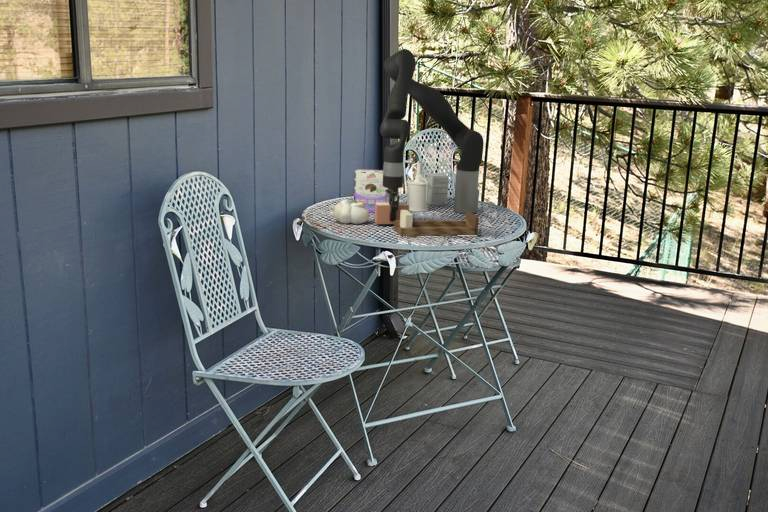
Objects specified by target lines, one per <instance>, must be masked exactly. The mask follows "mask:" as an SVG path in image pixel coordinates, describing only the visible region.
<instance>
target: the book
mask: <svg viewBox="0 0 768 512" xmlns="http://www.w3.org/2000/svg"><path fill="white" fill-rule="evenodd" d="M393 207H395V205H393ZM401 210H408V211H409V205H408V204H407V201H406V202H400V201H399V206H398V211H396V220H400V212H401ZM373 221H374V223H375V224H376V225H394V221H390V205H389V204H388V203H375V213H374V220H373Z"/></svg>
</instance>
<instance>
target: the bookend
mask: <svg viewBox="0 0 768 512" xmlns="http://www.w3.org/2000/svg"><path fill="white" fill-rule="evenodd" d="M410 212H411V211H410ZM410 212H409V211H408V210H401V212H400V227H401V228H412V221H414V220H413V218H414V217H413V216H414V215H413V214H412V213H410Z"/></svg>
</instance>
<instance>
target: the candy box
mask: <svg viewBox="0 0 768 512" xmlns="http://www.w3.org/2000/svg"><path fill="white" fill-rule="evenodd" d="M353 183H354V184H353V186H354V188H353V189H354V190H353V200H361V201H363V203H364V207H365V208H366V209H367V210H368V211H369V213H373V214H375V203H386V192H385V190H388V188H386V187H383V169H380V170H379V169H359V168H358V169H355V170H354V182H353ZM353 203H355V202H353Z"/></svg>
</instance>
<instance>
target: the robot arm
mask: <svg viewBox="0 0 768 512" xmlns="http://www.w3.org/2000/svg"><path fill="white" fill-rule="evenodd" d="M416 61H417V60H416V57H415V55H414V54H413V53H412V52H411V50H409V49H407V48H403V49H400V50H398V51H397V52H395V53H394V54H392V55H391V56H389V57H388V58H387V59H386V60H385V61H384V62H383V68H384V71H385V73H386V74H387V75H388V77H389V78H390V79H391V80H392V81H394V84H393V87H392V89H391V90H390V92H389V96H388V98H387V108H386V113H385V115H384V118H383V120H382V121H381V124H380V126H379V127H380V128H379V129H380V131H379V132H380V135H381V136H382V137H383V138H384V139H387V140H388V139H389V140H390V139H392V140H393V139H394V140H399V141H398V142H397V143H394V144H390V145H386V146H385V147H384V156H383V157H384V158H383V159H384V160H383V161H384V162H383V166H382V167H383V169H382V171H383V187H386V188H388V190H385V192H386V203H388V204H389V205H390V221H394V220H396V211H398V206H399V202H400V198H401V197H400V195H399V192H398V189H401V188H403V187H404V172H405V171H404V169H405V168H404V157H405V156H404V155H405V146H406V142H407V139H408V136H409V134H410V131H411V125H410V123H409V121H408V120H406V119H405V117H406V115H407V109H408V107H407V105H408V97H409V96H410V97H411V99H413V101H415V102H416V104H418V106H419V107H420V108H421V109H422V110H423V111H424V112H425V113H426V114H427V115H428V116H429V117H430V118H431V119H432V120H433V121H434V122H435V123H436V124H437V125H438V126H439V127H440V128H441V129H442V130H444V131H445V132H446V133H447V135H448V136H449V138H450V139H451V140H452V142H453V143H454V144H455V146H456V147H457V149H459V150H460V151H461V152H460V158H459V160H458V161H457V163H456V171H455V182H454V185H455V186H454V196H453V197H454V199H453V201H454V202H453V212H455V213H459V214H466V211H470V212H471V213H473V214H475V213H474V212H478V210H479V201H480V200H479V197H480V189H479V179H480V178H479V176H480V166H481V164H482V162H483V153H484V145H485V144H484V137H483V135H482V134H481V133H480V132H478V131H477V130H472V129H470V128H469V127H468V126H467V125H466V124H464V122H462V121H461V119H460V118H458V116H457V114H456V113H455V111H454V108H453V107H452V105H451V103H450V101H448V100H447V98H446V97H445V96H444V95H443V94H442V93H441V92H440V91H439V90H438V89H437V88H434V87H432V86H429V85H426V84H424V83H420V82H418V81H417V80H415V79H413V77H414V74H415V70H416V67H417V65H416V64H417V62H416ZM393 205H395V207H393Z"/></svg>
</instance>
